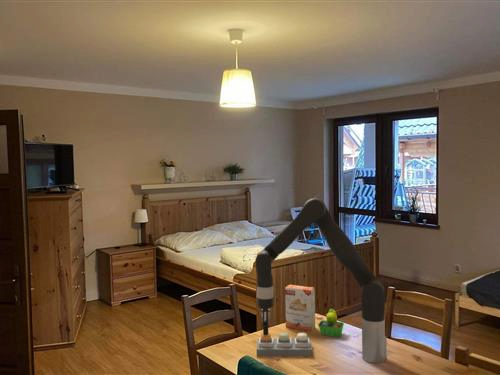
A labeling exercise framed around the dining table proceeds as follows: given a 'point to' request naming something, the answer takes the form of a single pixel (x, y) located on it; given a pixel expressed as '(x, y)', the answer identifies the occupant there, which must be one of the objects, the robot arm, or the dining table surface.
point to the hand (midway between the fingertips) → (265, 334)
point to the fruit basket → (331, 325)
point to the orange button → (266, 337)
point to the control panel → (284, 347)
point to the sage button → (283, 336)
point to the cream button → (302, 336)
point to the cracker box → (300, 307)
